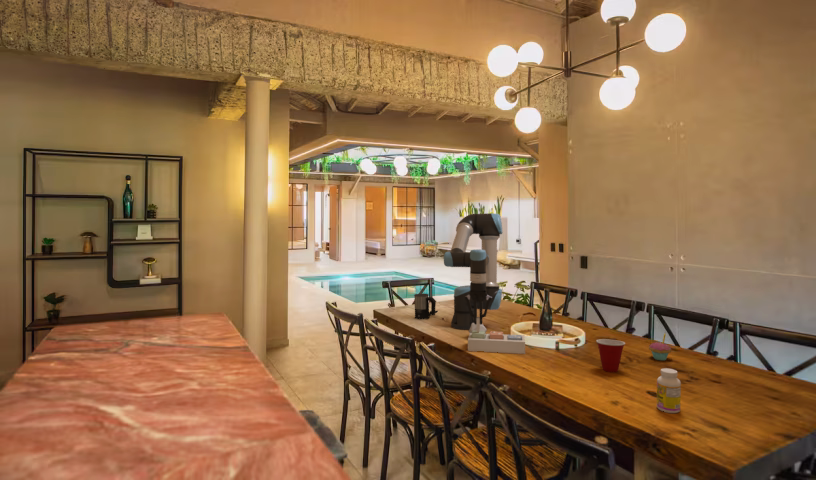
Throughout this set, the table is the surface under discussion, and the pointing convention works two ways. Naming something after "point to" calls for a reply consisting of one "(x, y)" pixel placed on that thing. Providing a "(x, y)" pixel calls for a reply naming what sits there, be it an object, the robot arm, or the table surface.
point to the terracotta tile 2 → (496, 335)
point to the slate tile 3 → (514, 337)
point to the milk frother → (424, 306)
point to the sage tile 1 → (478, 334)
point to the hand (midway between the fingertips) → (478, 331)
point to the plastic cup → (610, 354)
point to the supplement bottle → (668, 391)
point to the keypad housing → (496, 344)
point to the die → (474, 328)
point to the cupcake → (660, 349)
